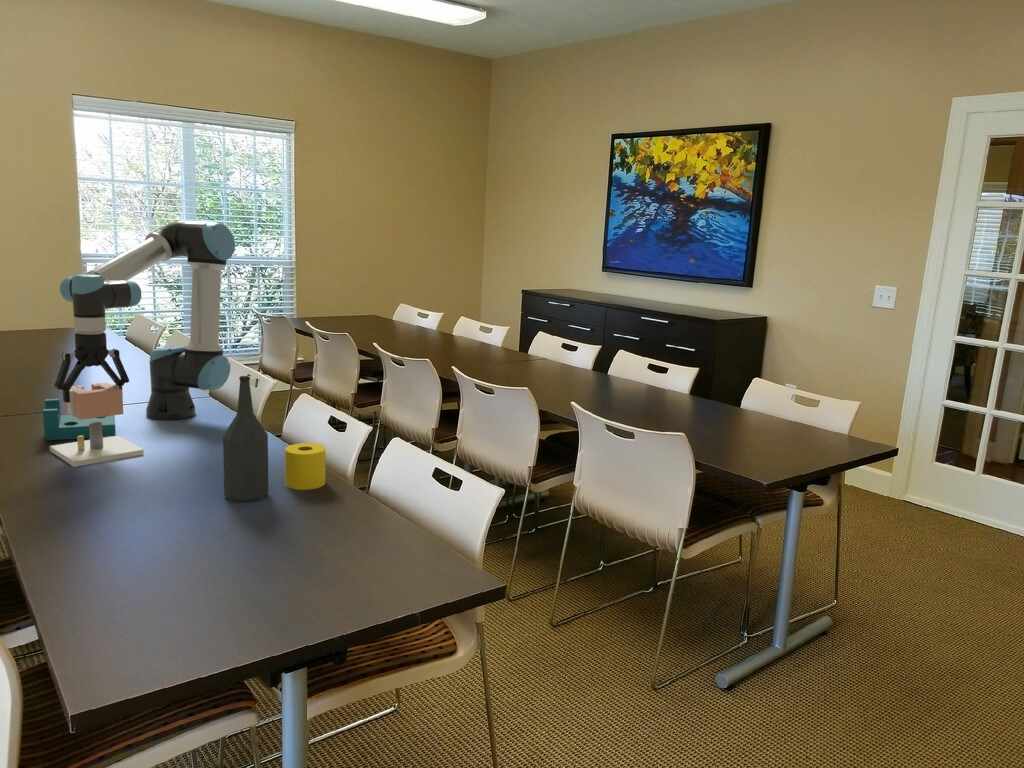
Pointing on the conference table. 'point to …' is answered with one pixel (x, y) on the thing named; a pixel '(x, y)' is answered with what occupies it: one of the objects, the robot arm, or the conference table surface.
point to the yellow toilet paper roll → (304, 466)
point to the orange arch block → (97, 401)
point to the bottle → (245, 452)
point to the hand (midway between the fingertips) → (94, 410)
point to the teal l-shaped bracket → (71, 423)
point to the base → (98, 454)
